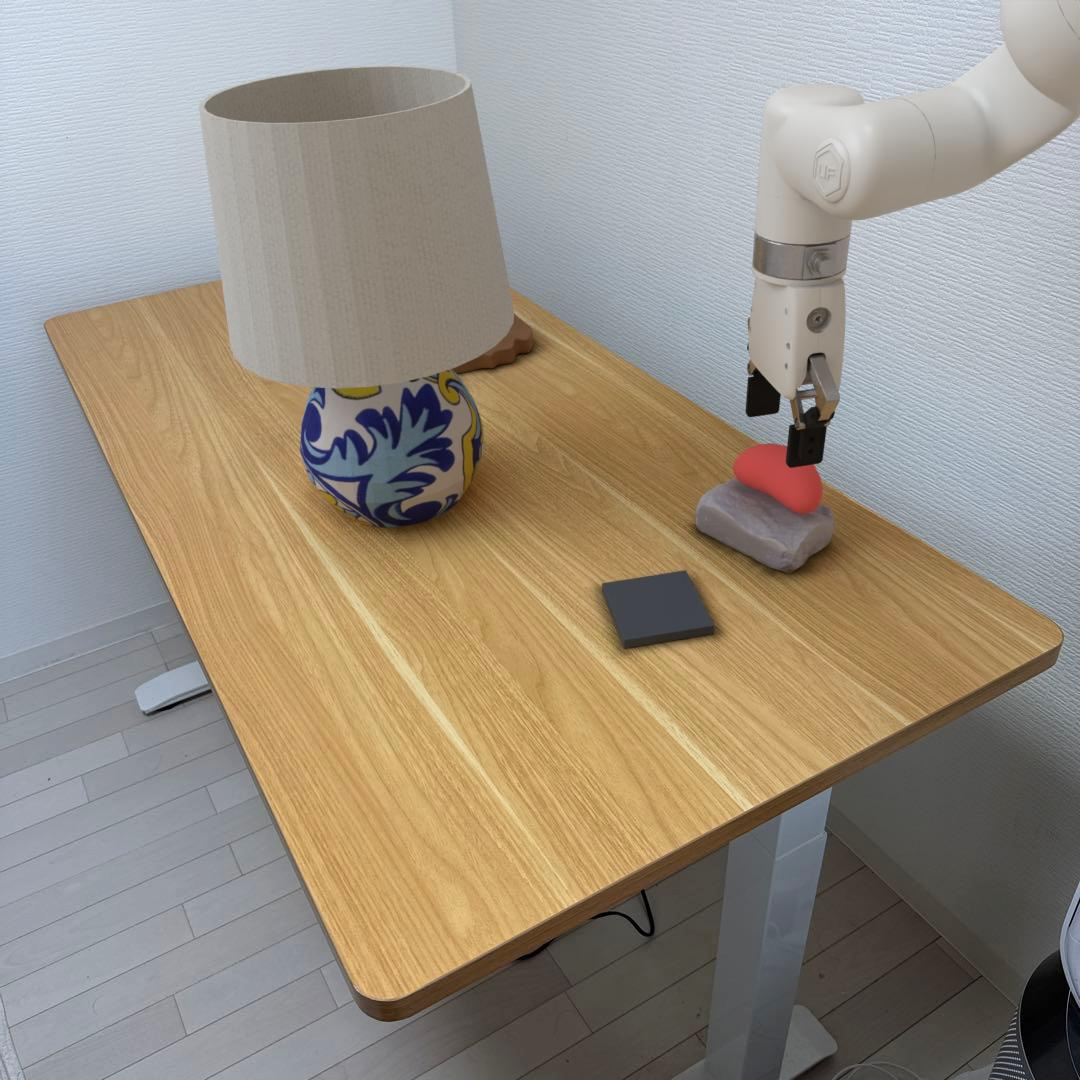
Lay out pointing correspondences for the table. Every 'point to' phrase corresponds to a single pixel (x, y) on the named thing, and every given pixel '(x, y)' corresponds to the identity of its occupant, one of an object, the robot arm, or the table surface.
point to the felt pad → (656, 609)
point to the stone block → (763, 525)
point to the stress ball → (779, 477)
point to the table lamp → (363, 272)
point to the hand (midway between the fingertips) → (781, 438)
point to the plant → (503, 348)
